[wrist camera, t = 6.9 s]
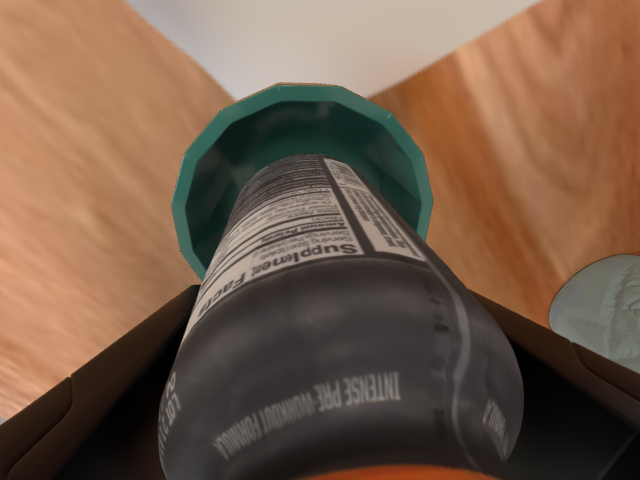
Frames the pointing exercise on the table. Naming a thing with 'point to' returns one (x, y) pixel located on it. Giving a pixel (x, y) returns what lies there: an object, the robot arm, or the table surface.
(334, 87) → the green bowl
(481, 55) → the table surface
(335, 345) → the pill bottle
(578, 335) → the grey green planter pot
